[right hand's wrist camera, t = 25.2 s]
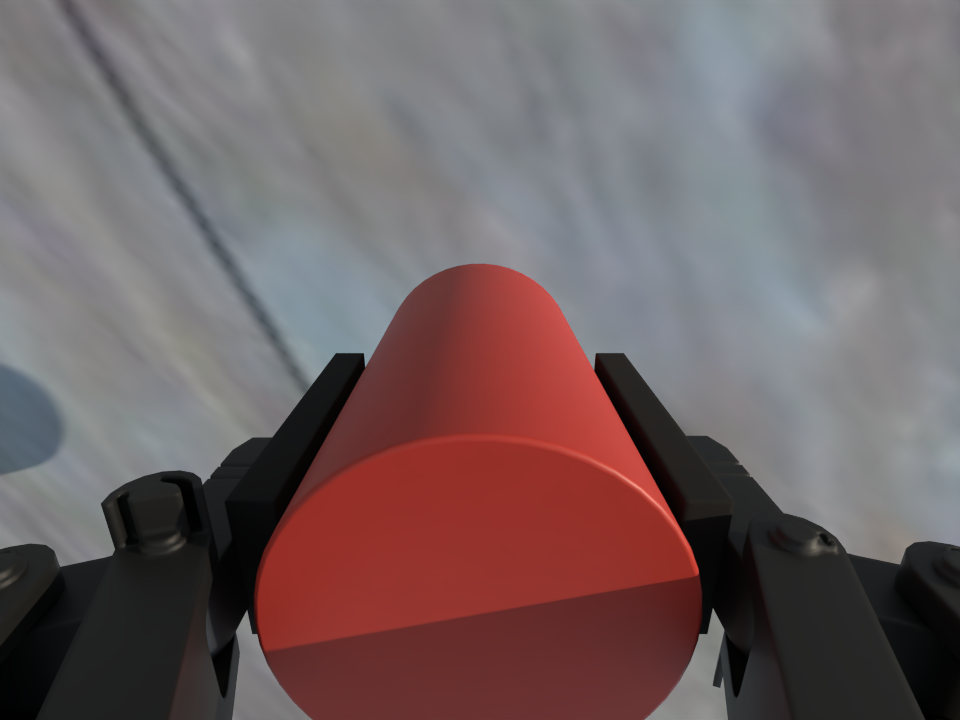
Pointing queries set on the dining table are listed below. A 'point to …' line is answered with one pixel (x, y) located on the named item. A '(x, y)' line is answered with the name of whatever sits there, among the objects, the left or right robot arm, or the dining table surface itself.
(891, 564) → the right robot arm
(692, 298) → the dining table surface
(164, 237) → the dining table surface
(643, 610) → the can
